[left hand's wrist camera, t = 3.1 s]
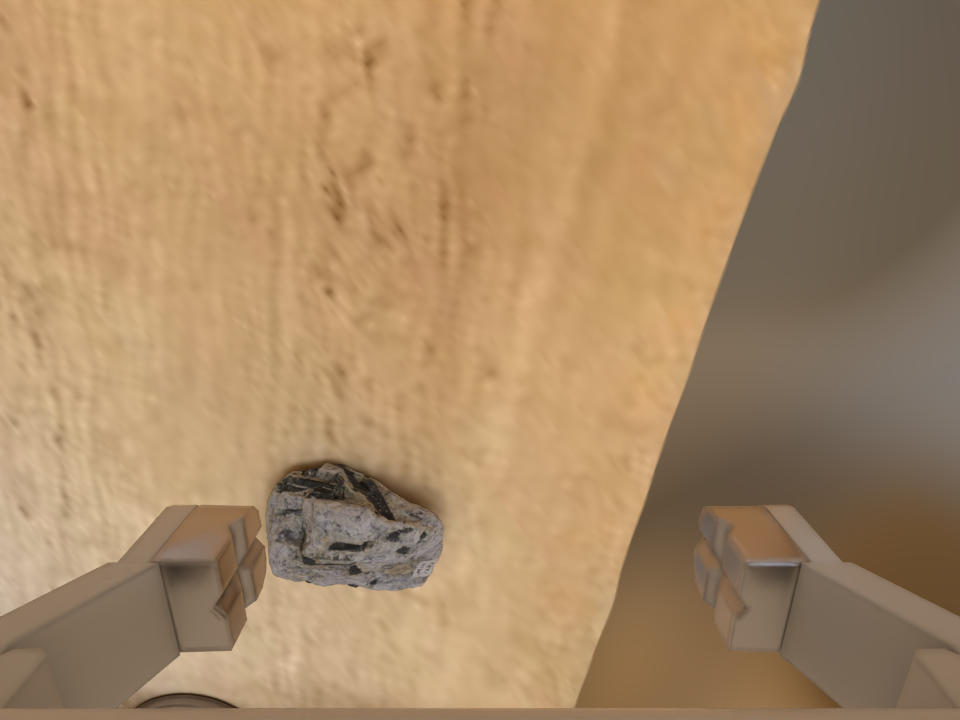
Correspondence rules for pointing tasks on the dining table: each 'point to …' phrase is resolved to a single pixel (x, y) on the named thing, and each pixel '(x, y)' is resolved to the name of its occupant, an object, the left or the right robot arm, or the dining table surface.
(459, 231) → the dining table surface
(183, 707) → the right robot arm
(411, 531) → the rock
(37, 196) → the dining table surface
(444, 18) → the dining table surface
